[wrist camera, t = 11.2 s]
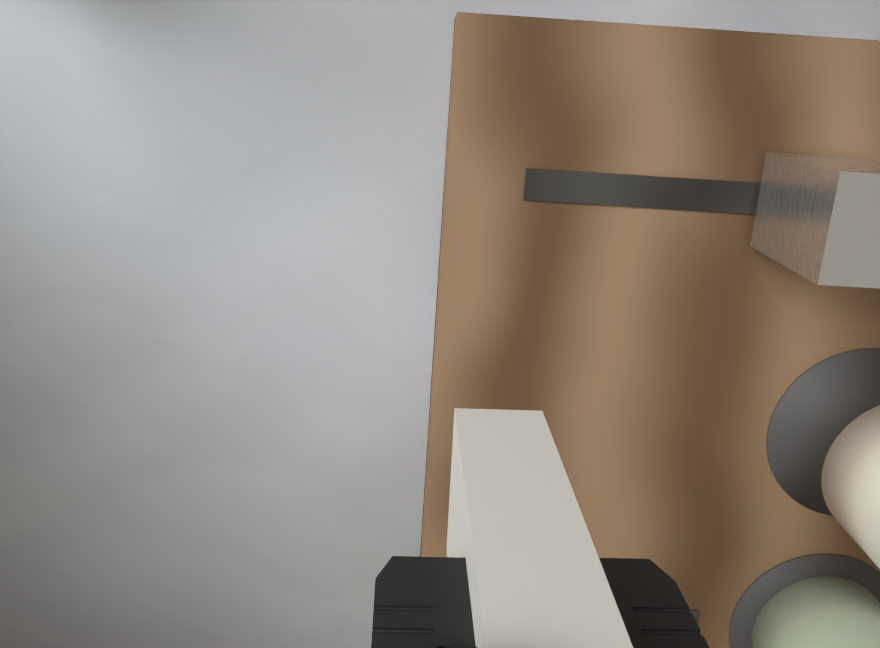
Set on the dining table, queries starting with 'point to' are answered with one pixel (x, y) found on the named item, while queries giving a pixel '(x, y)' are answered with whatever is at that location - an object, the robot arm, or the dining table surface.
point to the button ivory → (856, 481)
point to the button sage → (819, 616)
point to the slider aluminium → (821, 217)
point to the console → (655, 292)
